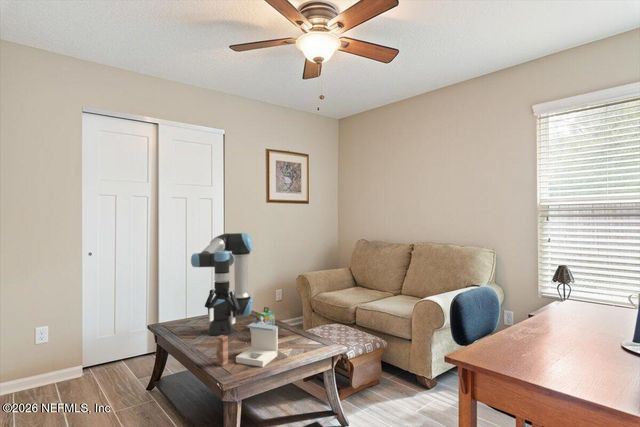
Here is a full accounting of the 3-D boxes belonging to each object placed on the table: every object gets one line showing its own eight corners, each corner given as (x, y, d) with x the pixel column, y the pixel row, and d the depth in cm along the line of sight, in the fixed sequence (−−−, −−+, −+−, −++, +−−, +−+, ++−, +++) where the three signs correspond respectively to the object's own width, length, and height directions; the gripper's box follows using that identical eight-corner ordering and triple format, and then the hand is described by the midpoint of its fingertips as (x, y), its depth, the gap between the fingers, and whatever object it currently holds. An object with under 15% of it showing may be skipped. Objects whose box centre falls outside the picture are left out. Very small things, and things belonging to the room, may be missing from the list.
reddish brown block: (216, 364, 185) (216, 337, 185) (221, 361, 188) (221, 335, 188) (223, 366, 183) (223, 338, 183) (228, 362, 187) (227, 336, 187)
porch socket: (235, 362, 187) (235, 331, 187) (252, 351, 202) (252, 322, 202) (262, 367, 182) (262, 335, 182) (277, 355, 196) (277, 326, 196)
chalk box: (255, 329, 240) (255, 307, 240) (266, 326, 247) (266, 305, 247) (264, 332, 234) (264, 310, 234) (275, 329, 241) (275, 307, 241)
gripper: (197, 280, 187) (197, 321, 186) (238, 283, 178) (238, 326, 177) (207, 278, 194) (207, 318, 193) (246, 281, 185) (246, 322, 184)
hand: (222, 322), depth 185 cm, fingers open, 13 cm apart
